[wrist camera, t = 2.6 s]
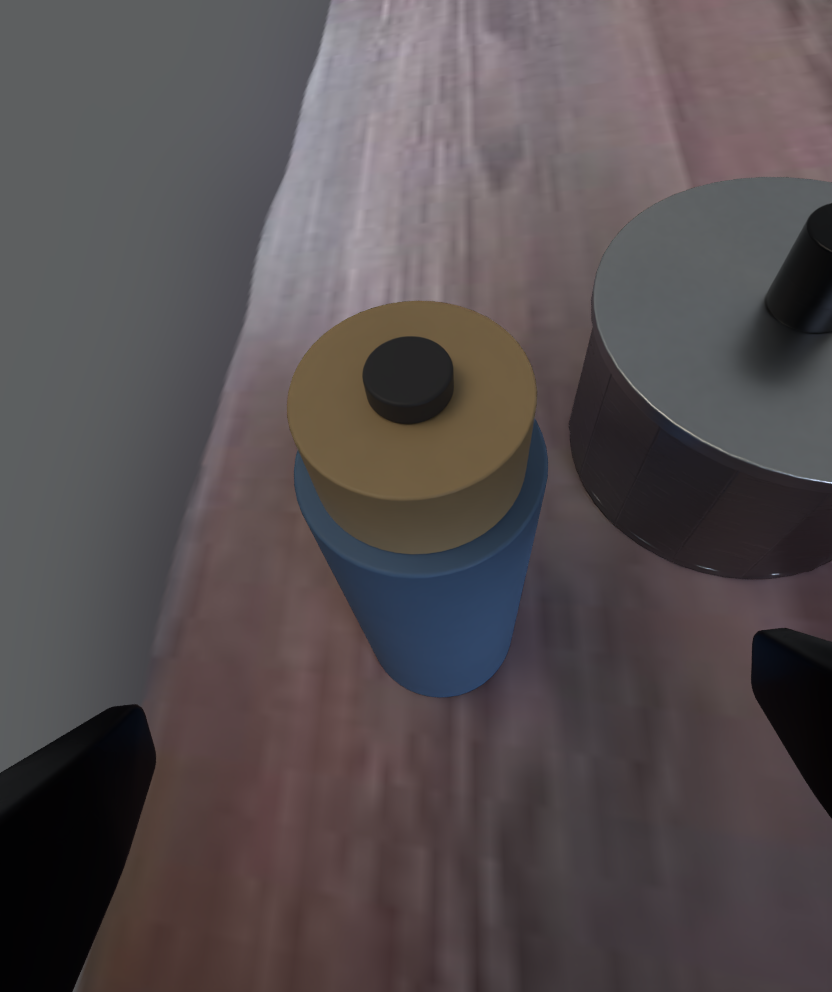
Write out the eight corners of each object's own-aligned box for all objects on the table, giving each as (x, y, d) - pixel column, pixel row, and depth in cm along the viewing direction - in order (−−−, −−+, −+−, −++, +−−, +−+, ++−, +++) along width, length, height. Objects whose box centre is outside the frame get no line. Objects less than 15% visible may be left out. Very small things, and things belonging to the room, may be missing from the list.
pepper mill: (490, 718, 19) (523, 549, 8) (349, 671, 20) (195, 460, 9) (527, 580, 21) (596, 287, 10) (397, 544, 22) (324, 240, 11)
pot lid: (1046, 560, 14) (1209, 484, 11) (549, 446, 17) (567, 358, 14) (996, 234, 19) (1097, 120, 16) (621, 185, 22) (647, 78, 19)
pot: (884, 620, 20) (1051, 535, 14) (540, 530, 22) (565, 427, 16) (879, 362, 24) (1000, 223, 19) (598, 312, 27) (632, 176, 21)
